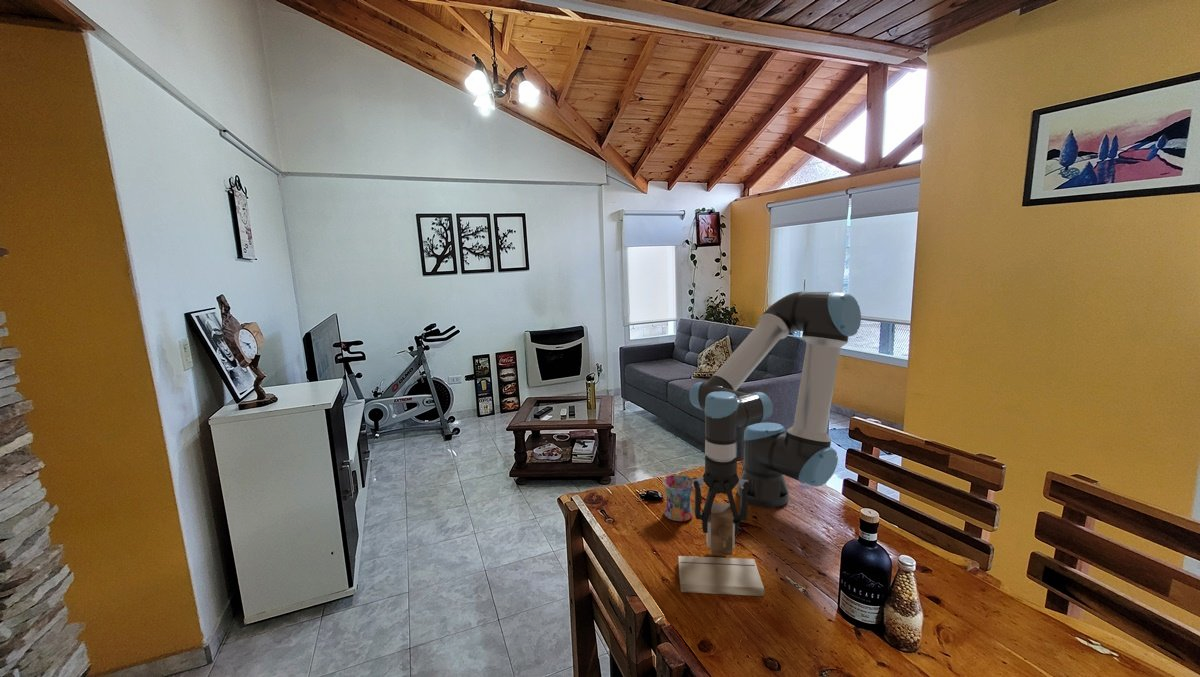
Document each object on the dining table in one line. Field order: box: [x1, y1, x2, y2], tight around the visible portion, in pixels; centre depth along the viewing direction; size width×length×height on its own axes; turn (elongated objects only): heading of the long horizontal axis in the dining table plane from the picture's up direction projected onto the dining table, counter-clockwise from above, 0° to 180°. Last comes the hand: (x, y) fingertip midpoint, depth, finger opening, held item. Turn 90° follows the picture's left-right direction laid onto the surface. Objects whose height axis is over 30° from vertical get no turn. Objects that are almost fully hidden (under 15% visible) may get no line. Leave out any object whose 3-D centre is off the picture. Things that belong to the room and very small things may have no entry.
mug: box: [661, 474, 695, 522], centre depth 132 cm, size 12×9×11 cm
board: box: [677, 555, 765, 597], centre depth 105 cm, size 18×10×2 cm, turn 83°
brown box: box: [709, 502, 733, 556], centre depth 110 cm, size 5×9×11 cm, turn 174°
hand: (720, 544), depth 112 cm, fingers closed on brown box, 5 cm apart
